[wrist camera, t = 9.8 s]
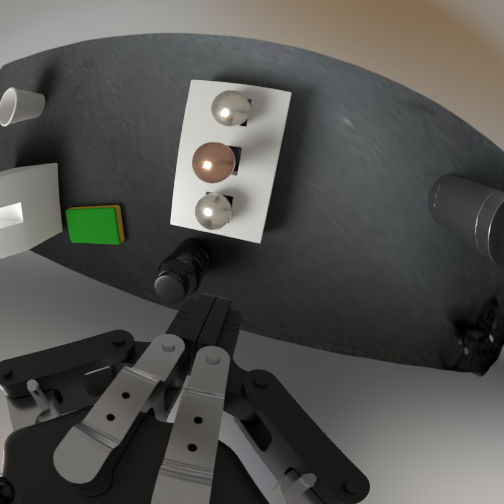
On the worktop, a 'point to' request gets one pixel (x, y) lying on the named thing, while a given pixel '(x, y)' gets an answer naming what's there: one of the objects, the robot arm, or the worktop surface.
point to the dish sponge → (95, 224)
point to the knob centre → (213, 162)
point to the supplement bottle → (182, 271)
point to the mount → (251, 161)
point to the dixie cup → (20, 106)
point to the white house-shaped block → (28, 207)
